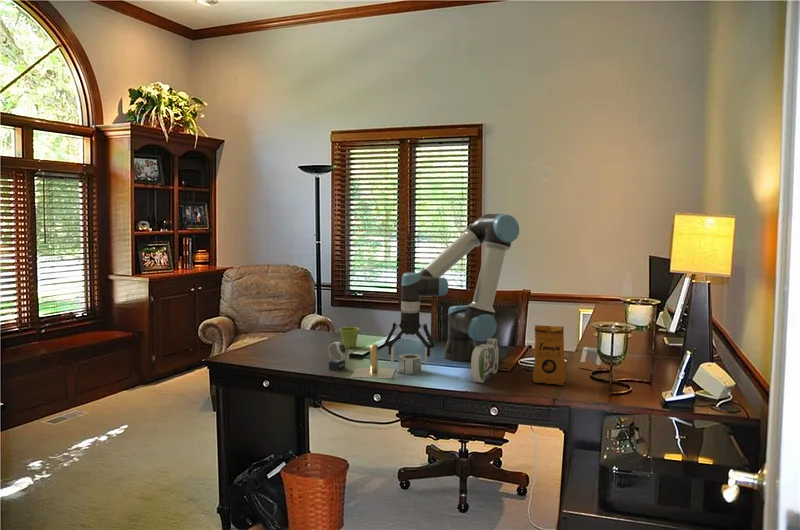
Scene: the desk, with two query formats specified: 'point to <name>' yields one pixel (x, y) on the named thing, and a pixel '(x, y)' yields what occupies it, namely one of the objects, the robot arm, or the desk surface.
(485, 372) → the cutout
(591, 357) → the portable electronic device stand
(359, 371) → the square peg stand
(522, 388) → the desk surface
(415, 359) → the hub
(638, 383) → the desk surface
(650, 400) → the desk surface
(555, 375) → the coffee package
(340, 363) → the watch
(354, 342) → the plant pot
